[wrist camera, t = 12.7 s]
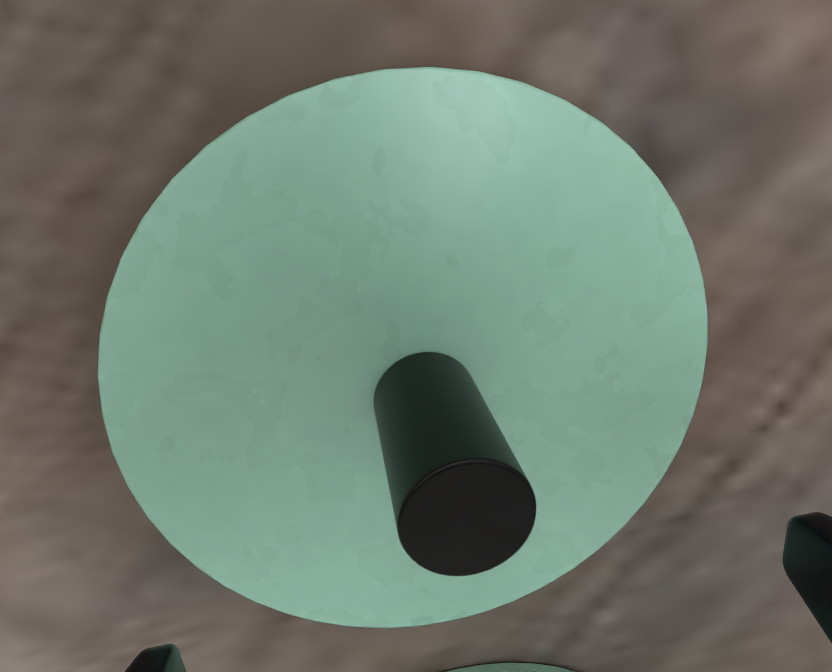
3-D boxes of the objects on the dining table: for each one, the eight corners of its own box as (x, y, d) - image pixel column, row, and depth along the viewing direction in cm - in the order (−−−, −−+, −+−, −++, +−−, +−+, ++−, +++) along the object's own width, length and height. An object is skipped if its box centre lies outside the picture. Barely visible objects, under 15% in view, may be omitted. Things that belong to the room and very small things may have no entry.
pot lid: (671, 544, 19) (804, 715, 14) (199, 643, 18) (151, 873, 12) (701, 30, 13) (942, -5, 8) (17, 114, 12) (-204, 134, 7)
